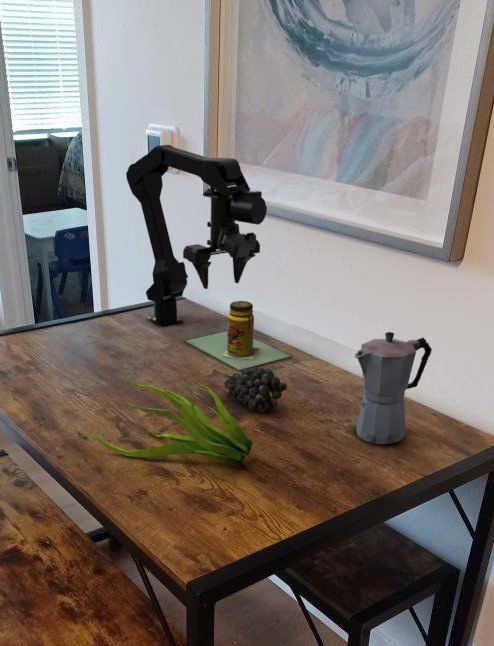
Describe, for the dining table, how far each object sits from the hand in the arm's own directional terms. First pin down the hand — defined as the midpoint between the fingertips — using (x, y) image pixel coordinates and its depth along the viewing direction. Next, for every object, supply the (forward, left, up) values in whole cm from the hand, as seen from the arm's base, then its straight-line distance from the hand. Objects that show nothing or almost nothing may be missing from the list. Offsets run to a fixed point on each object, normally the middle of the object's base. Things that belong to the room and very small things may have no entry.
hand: (221, 285), depth 170 cm
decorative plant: (+44, -44, -13) cm, 64 cm away
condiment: (+12, -2, -13) cm, 18 cm away
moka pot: (+59, -5, -13) cm, 61 cm away
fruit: (+35, -17, -13) cm, 41 cm away
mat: (+9, -1, -13) cm, 16 cm away
